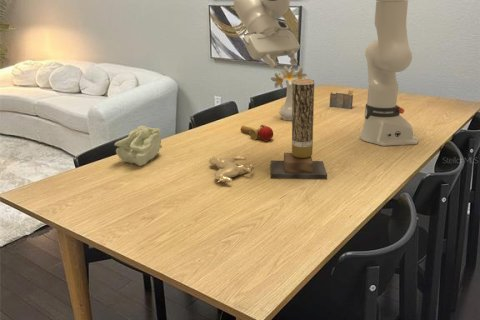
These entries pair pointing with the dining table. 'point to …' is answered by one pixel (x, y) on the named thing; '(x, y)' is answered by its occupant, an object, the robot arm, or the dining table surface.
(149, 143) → the folded clay sculpture
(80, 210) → the dining table surface
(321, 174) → the plinth
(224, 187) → the dining table surface
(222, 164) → the unicorn
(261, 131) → the kendama
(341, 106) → the ruin model on sheet
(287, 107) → the flower vase
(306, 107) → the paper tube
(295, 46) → the robot arm
